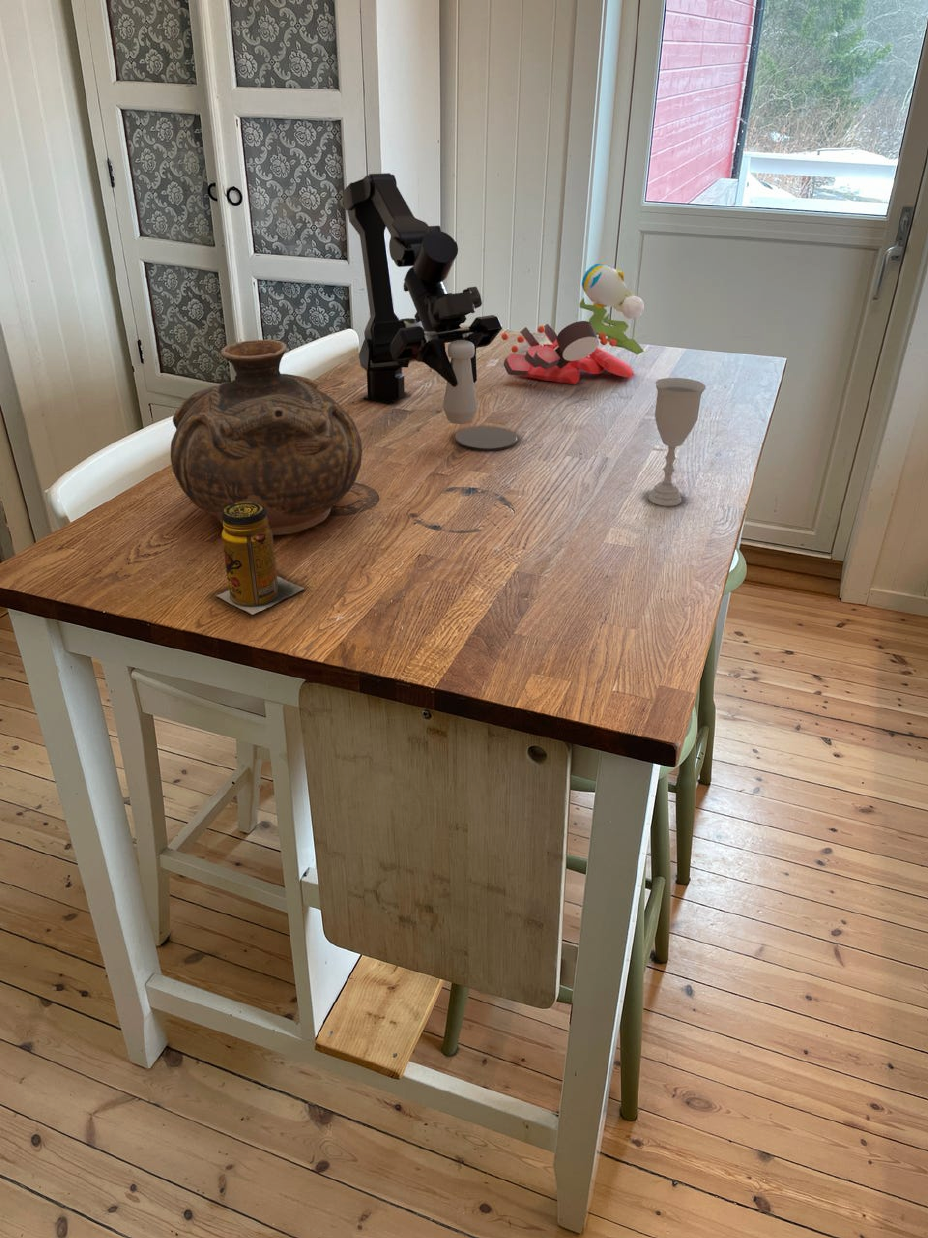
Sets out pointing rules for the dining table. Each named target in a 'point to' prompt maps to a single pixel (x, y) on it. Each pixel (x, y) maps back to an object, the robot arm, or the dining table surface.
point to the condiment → (251, 559)
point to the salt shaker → (461, 384)
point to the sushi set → (582, 335)
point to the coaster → (486, 438)
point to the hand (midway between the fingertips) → (465, 383)
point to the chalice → (674, 427)
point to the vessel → (265, 442)
